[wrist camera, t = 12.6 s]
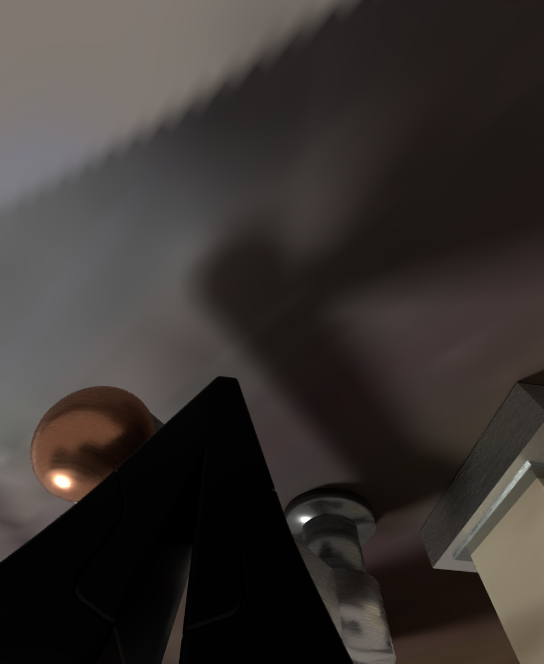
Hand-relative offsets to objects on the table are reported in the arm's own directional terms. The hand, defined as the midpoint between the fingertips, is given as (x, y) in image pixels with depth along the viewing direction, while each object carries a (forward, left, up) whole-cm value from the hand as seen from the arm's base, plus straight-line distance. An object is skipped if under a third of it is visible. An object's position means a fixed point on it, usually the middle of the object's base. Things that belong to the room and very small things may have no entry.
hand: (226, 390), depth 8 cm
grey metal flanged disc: (-5, +9, -3) cm, 10 cm away
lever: (-1, +5, 0) cm, 5 cm away
